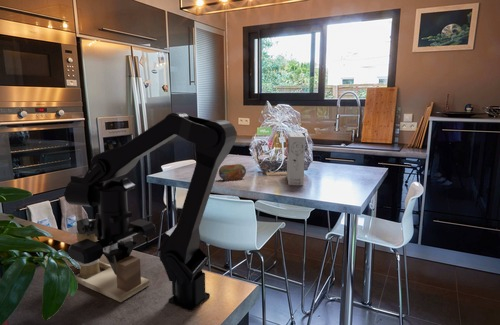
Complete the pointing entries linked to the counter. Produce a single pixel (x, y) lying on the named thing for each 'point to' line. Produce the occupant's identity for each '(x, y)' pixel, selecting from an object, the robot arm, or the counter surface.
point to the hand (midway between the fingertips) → (118, 274)
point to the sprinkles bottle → (92, 267)
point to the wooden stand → (116, 279)
